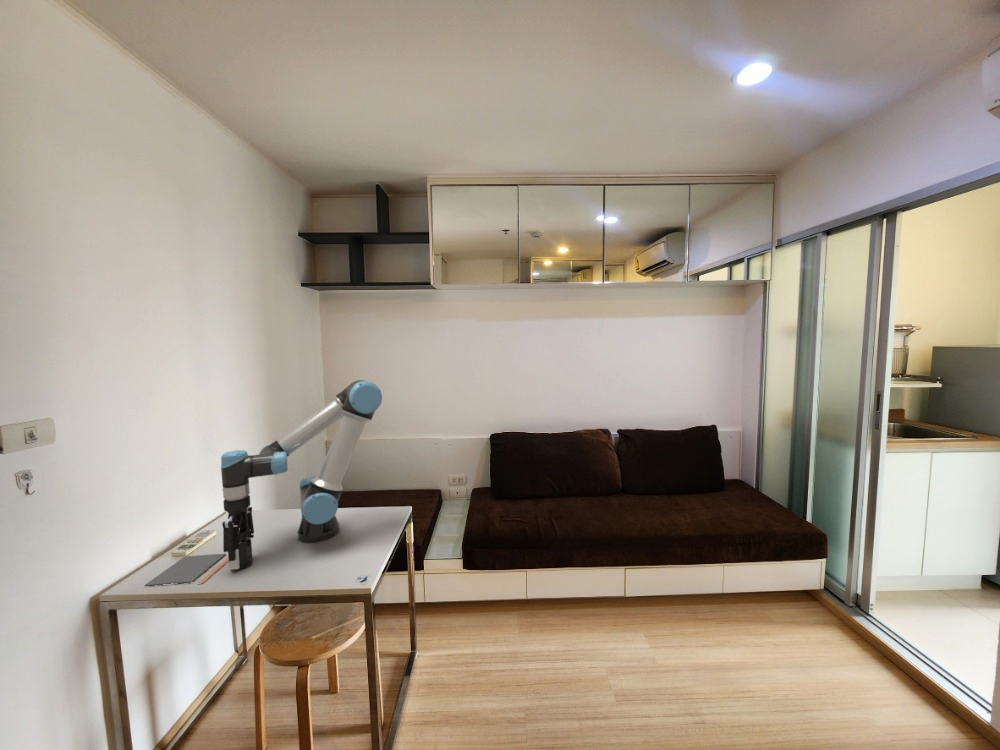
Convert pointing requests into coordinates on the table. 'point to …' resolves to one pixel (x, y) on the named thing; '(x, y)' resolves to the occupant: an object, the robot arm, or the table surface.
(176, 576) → the mat
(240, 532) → the supplement bottle
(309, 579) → the table surface
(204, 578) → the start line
